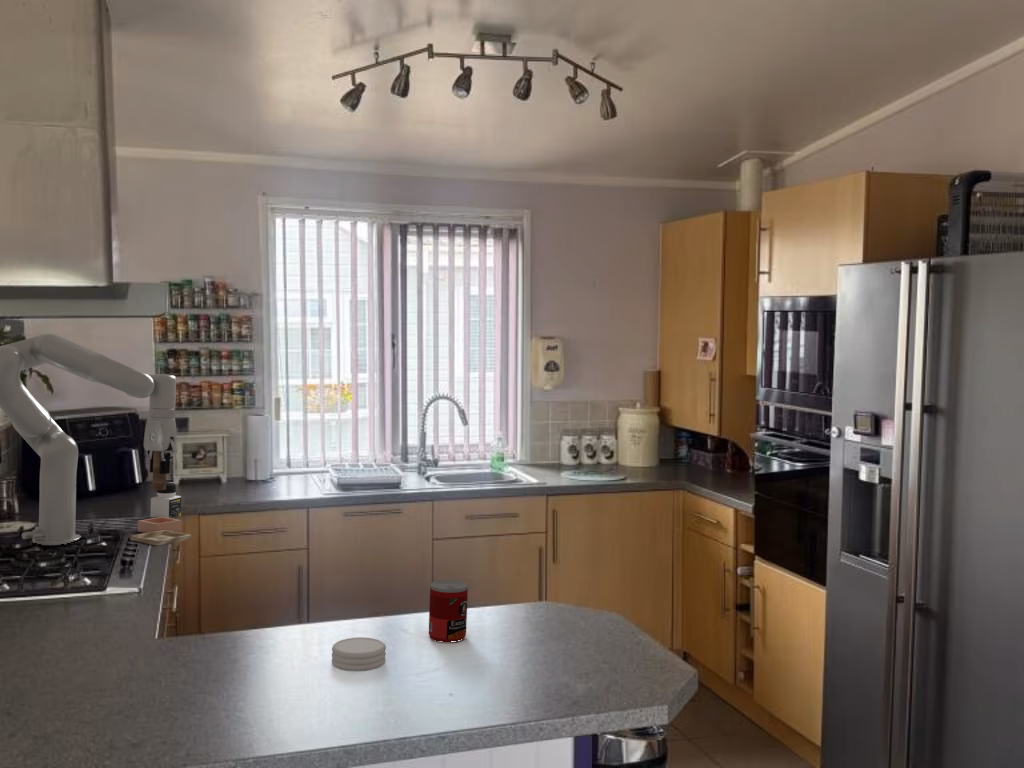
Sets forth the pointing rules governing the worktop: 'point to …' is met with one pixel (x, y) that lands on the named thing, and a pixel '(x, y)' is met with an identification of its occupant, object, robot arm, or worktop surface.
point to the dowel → (158, 473)
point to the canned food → (448, 610)
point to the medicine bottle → (166, 502)
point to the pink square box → (159, 524)
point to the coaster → (358, 654)
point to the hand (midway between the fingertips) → (159, 472)
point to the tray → (160, 537)
